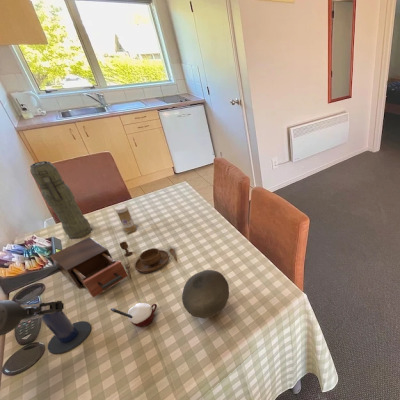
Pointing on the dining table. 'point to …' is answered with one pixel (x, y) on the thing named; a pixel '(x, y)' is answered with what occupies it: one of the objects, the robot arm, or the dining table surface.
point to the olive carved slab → (60, 199)
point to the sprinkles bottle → (125, 218)
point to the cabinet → (77, 257)
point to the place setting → (148, 259)
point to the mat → (59, 347)
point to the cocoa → (139, 314)
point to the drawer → (100, 274)
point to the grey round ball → (205, 294)
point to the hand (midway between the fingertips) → (41, 311)
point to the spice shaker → (60, 326)
